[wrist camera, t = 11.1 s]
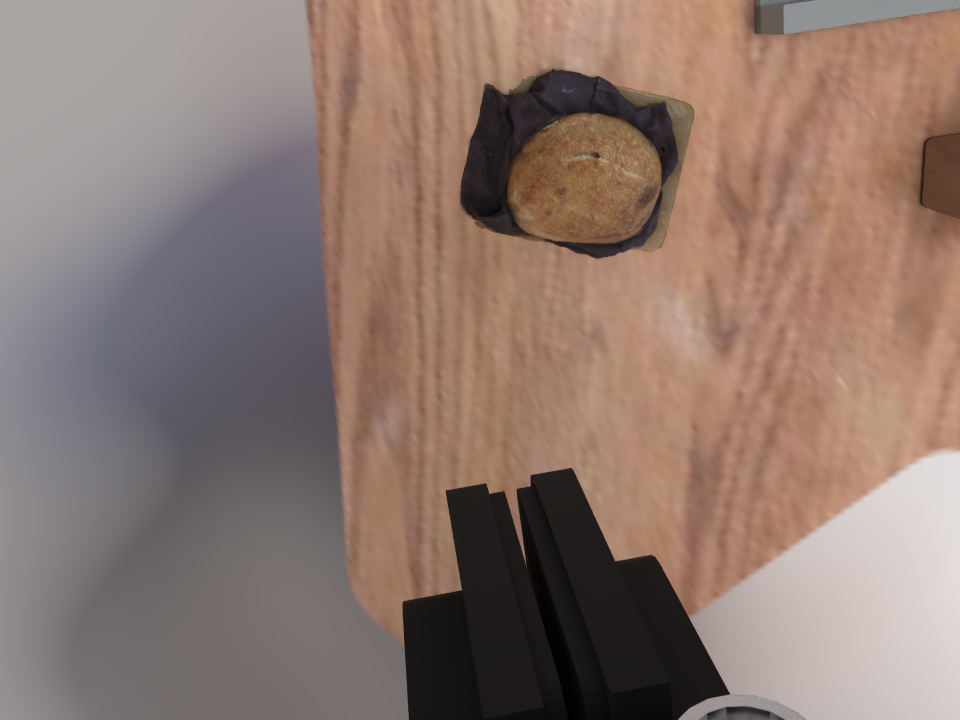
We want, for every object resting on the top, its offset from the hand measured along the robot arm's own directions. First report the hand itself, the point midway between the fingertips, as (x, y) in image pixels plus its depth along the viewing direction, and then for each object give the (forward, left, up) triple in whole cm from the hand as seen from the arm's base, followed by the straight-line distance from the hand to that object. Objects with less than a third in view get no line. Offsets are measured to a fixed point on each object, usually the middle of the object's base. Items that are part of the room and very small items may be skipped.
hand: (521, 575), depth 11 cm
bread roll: (-1, -8, -33) cm, 34 cm away
